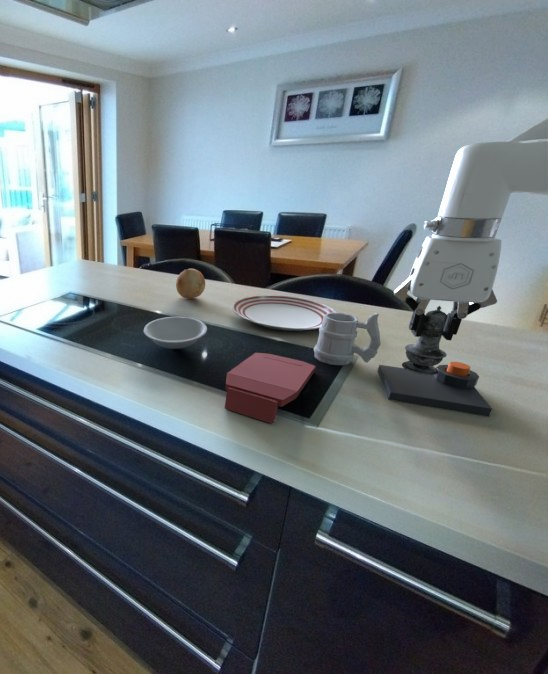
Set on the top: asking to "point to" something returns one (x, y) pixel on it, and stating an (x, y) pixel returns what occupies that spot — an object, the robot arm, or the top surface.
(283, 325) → the dinner plate
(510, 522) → the top surface
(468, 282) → the robot arm
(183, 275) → the onion
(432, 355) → the salt shaker
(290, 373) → the carton
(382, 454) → the top surface
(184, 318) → the dish
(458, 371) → the button
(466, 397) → the scale
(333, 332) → the mug
